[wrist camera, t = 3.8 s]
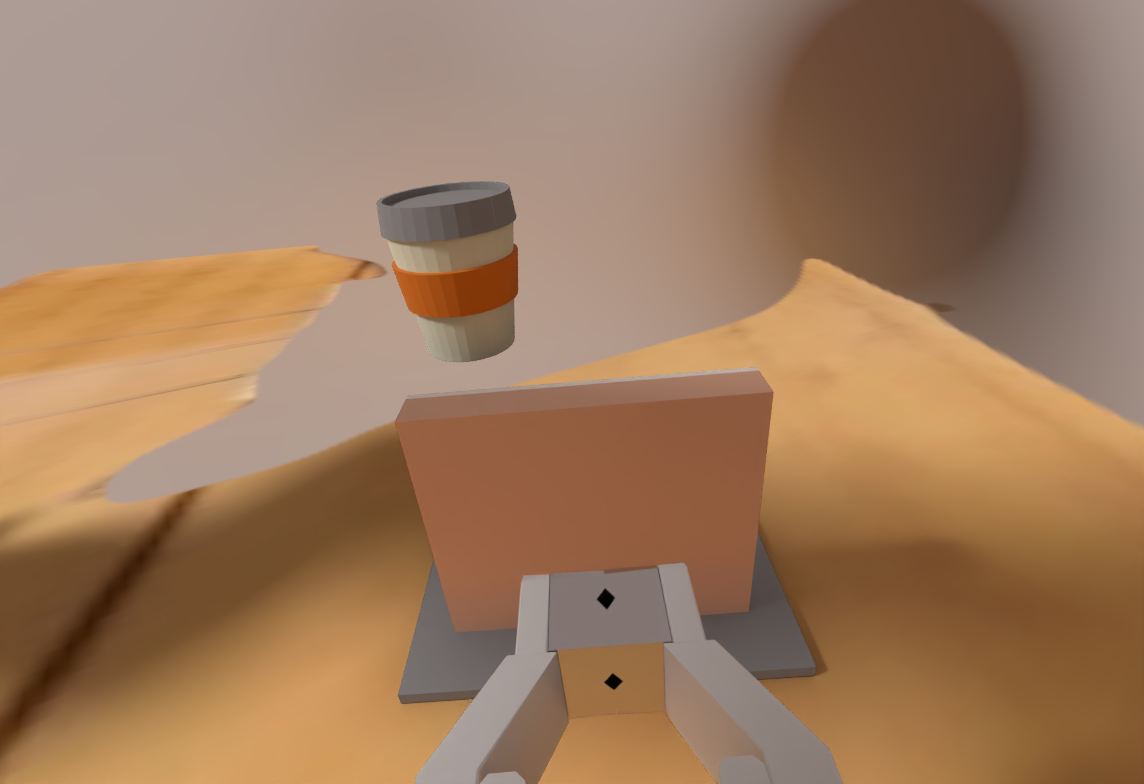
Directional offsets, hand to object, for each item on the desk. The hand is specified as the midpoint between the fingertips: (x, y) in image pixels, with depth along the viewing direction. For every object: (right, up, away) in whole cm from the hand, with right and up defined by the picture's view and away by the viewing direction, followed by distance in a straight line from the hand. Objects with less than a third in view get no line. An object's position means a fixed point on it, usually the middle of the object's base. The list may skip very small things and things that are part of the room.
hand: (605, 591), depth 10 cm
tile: (+1, -7, +17) cm, 18 cm away
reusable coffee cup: (-11, +9, +48) cm, 50 cm away
